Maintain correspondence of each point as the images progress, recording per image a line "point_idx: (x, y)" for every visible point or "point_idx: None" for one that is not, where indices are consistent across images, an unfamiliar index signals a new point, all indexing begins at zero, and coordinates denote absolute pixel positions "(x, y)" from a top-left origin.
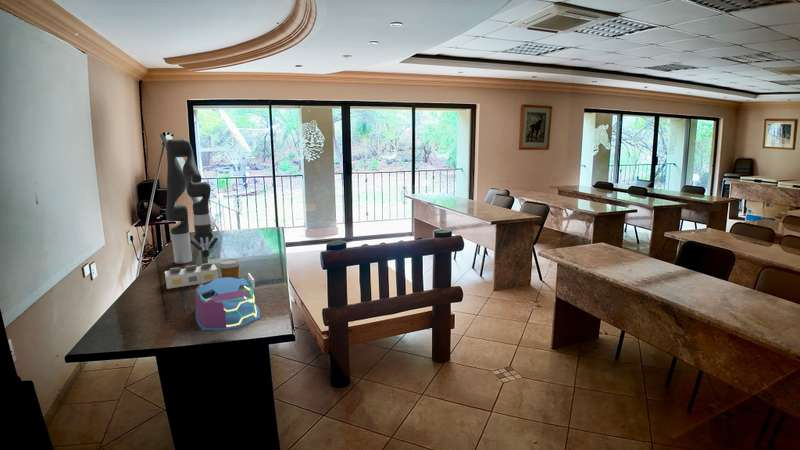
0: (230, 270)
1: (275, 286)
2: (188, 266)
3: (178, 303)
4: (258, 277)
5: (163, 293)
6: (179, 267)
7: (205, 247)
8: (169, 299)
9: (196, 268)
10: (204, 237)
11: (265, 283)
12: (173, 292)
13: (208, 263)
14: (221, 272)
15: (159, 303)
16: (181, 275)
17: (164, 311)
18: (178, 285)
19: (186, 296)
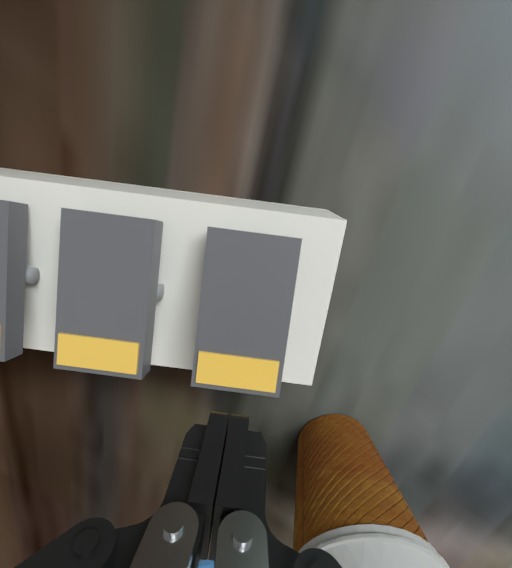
0: None
1: (479, 563)
2: (73, 360)
3: (78, 509)
4: (509, 419)
5: (5, 361)
6: (3, 255)
7: (218, 565)
8: (41, 452)
9: (170, 254)
10: None
11: (473, 513)
12: (53, 376)
13: (273, 299)
14: (294, 523)
15: (4, 470)
16: (53, 347)
17: (32, 545)
18: None
19: (111, 460)
